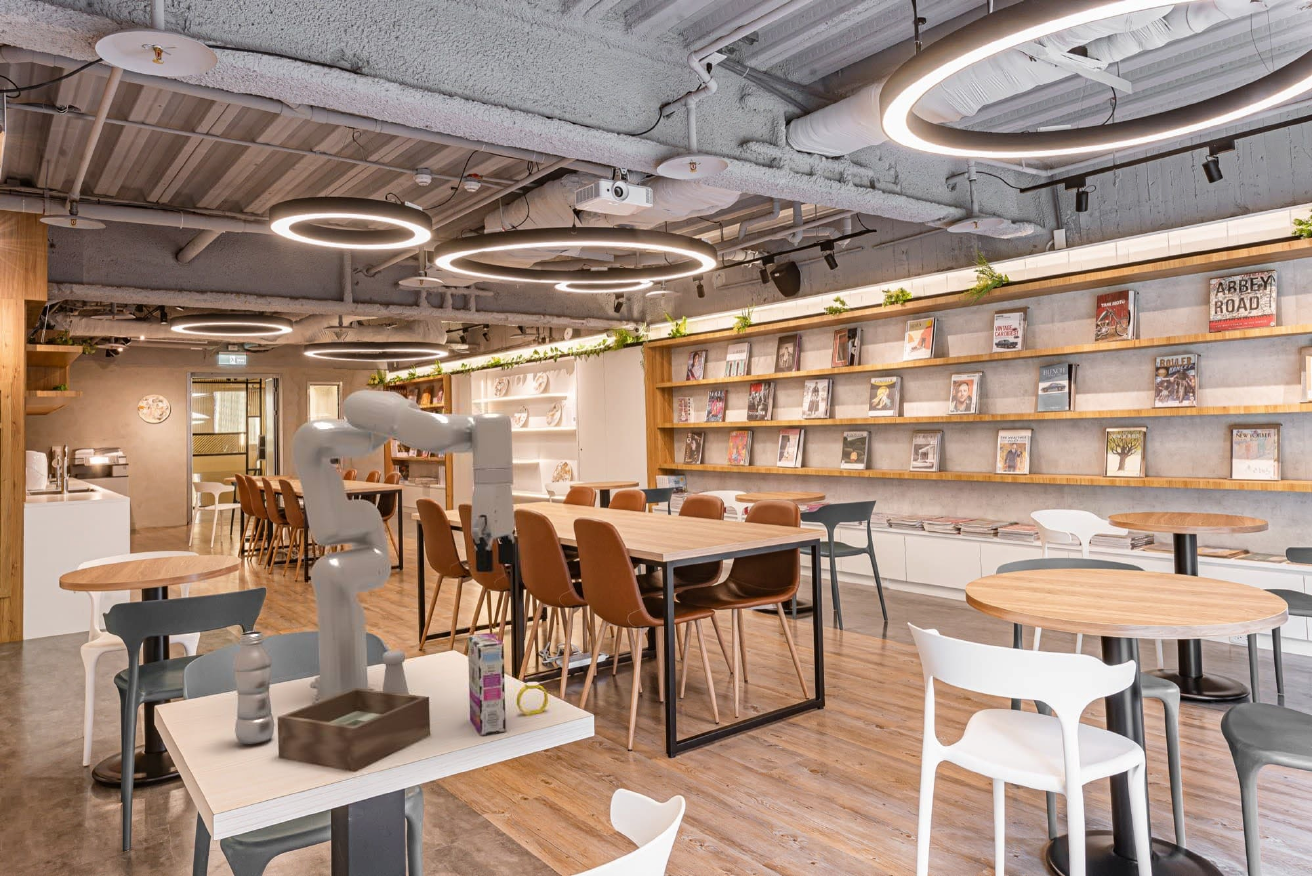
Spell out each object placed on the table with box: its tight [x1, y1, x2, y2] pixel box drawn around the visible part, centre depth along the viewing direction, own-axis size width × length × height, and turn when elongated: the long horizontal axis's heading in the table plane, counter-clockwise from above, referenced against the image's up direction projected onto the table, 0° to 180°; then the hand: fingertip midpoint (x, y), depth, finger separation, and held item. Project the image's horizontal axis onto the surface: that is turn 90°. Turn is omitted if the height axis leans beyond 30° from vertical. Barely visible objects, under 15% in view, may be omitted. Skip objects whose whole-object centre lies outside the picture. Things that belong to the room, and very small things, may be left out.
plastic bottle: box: [232, 630, 275, 745], centre depth 152 cm, size 6×7×20 cm
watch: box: [516, 681, 549, 716], centre depth 162 cm, size 6×3×6 cm, turn 114°
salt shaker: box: [381, 649, 410, 695], centre depth 163 cm, size 6×6×13 cm
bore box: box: [277, 688, 431, 772], centre depth 147 cm, size 18×18×7 cm
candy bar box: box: [467, 632, 507, 736], centre depth 156 cm, size 11×5×16 cm, turn 23°
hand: (496, 567), depth 157 cm, fingers open, 9 cm apart
